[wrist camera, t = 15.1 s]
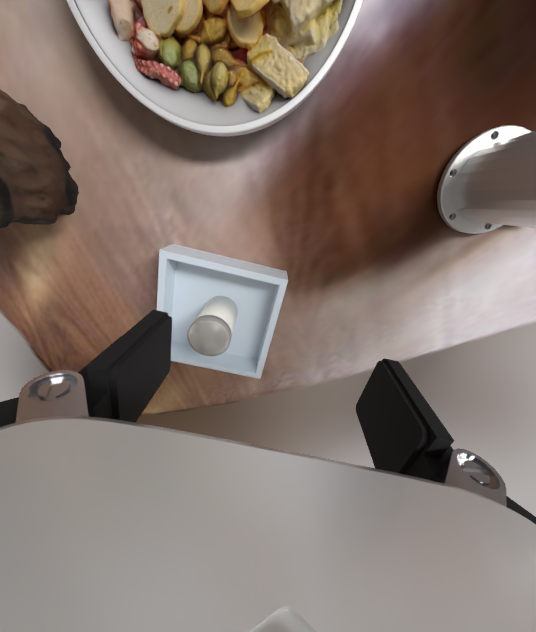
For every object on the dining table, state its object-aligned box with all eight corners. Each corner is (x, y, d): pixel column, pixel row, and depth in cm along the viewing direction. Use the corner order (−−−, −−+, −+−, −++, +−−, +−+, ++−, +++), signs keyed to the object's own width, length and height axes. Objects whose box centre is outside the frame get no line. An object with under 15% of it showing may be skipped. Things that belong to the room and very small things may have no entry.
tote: (286, 271, 39) (288, 280, 34) (261, 361, 46) (260, 378, 42) (173, 243, 37) (159, 249, 33) (166, 341, 45) (154, 357, 40)
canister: (241, 299, 40) (233, 324, 32) (235, 329, 42) (226, 359, 34) (206, 291, 40) (189, 314, 31) (202, 322, 42) (185, 351, 34)
